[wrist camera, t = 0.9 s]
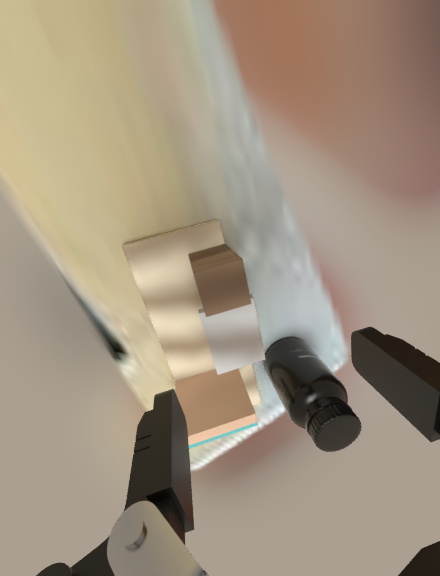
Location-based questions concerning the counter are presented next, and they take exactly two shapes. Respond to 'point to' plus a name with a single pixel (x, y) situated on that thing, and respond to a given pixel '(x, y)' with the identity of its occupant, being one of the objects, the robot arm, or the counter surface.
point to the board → (179, 298)
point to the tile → (215, 405)
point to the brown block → (227, 308)
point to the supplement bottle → (311, 394)
